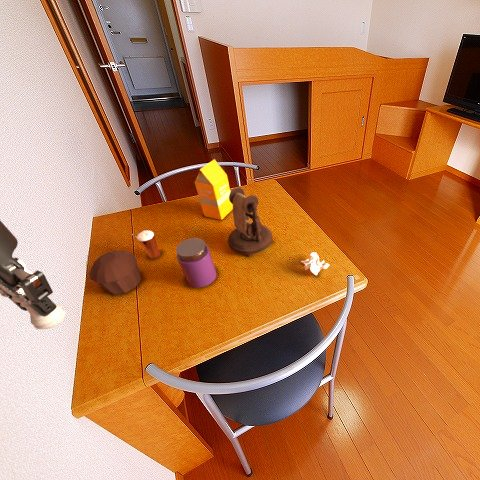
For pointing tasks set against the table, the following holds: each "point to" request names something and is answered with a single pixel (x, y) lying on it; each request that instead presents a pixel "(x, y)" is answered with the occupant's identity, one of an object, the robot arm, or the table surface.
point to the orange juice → (213, 191)
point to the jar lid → (191, 249)
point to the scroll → (247, 225)
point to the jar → (199, 270)
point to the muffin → (116, 272)
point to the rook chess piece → (42, 321)
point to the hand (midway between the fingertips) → (40, 308)
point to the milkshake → (148, 243)
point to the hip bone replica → (314, 264)
